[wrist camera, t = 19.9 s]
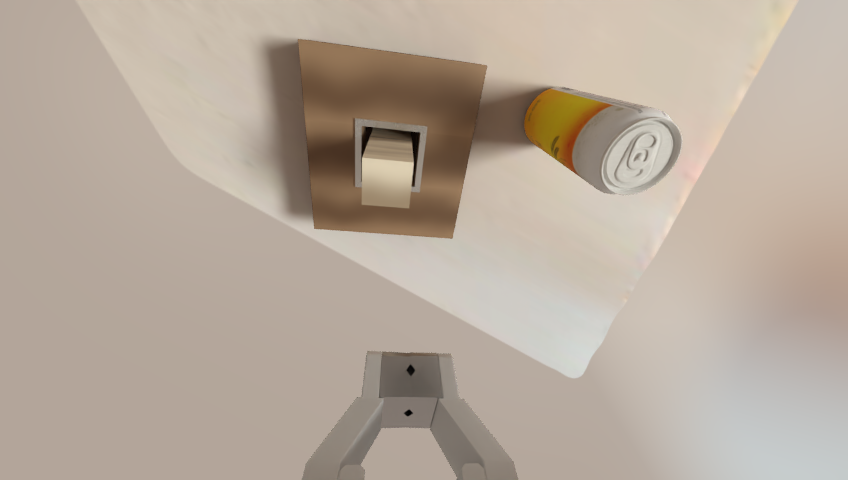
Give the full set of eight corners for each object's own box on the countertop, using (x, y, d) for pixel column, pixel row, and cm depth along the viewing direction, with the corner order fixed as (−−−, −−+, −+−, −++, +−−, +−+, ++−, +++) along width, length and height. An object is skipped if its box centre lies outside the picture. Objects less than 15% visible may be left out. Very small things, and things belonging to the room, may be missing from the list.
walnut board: (310, 40, 28) (297, 38, 24) (477, 63, 30) (487, 65, 26) (322, 212, 37) (313, 229, 34) (448, 222, 39) (452, 239, 36)
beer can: (516, 144, 34) (583, 199, 22) (528, 84, 31) (615, 109, 18) (567, 145, 35) (662, 200, 22) (584, 87, 31) (707, 112, 19)
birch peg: (373, 126, 32) (361, 157, 23) (411, 130, 33) (414, 162, 23) (372, 163, 34) (361, 204, 25) (407, 166, 35) (409, 208, 26)
